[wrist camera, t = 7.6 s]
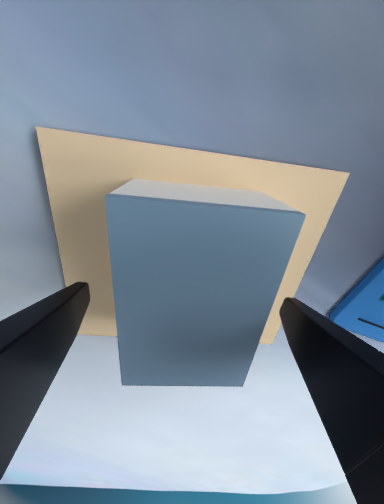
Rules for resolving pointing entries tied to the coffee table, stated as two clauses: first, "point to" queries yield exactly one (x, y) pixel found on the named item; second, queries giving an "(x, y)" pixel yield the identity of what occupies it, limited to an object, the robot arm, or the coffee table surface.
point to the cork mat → (170, 170)
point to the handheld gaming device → (364, 306)
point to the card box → (194, 278)
